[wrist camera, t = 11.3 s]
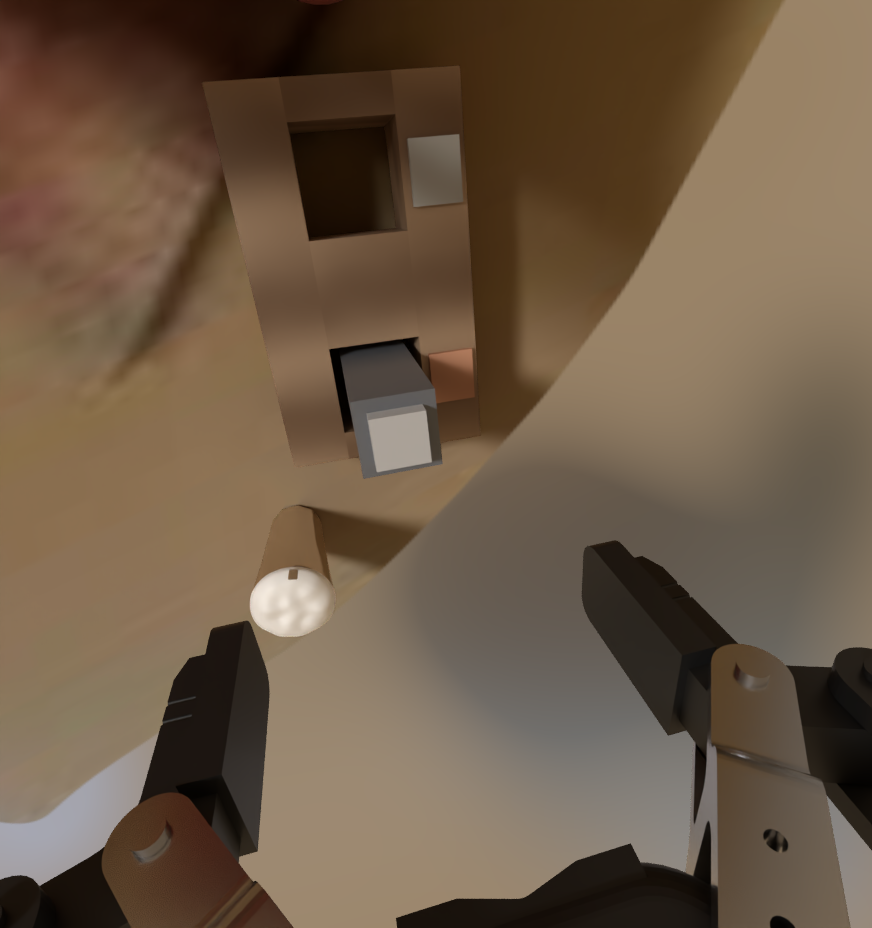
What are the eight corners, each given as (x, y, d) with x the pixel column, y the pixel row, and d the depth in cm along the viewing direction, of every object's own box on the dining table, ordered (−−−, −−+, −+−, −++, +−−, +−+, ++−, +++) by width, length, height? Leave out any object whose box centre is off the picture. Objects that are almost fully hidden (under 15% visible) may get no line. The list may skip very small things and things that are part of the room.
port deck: (217, 100, 25) (200, 80, 21) (440, 84, 27) (461, 63, 23) (296, 440, 33) (294, 470, 29) (463, 412, 35) (482, 437, 31)
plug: (337, 342, 31) (350, 408, 21) (396, 333, 32) (438, 394, 21) (347, 399, 33) (365, 487, 22) (404, 390, 33) (446, 471, 23)
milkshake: (332, 485, 35) (339, 577, 26) (329, 552, 37) (335, 657, 28) (261, 485, 34) (244, 580, 25) (262, 553, 36) (246, 663, 27)
